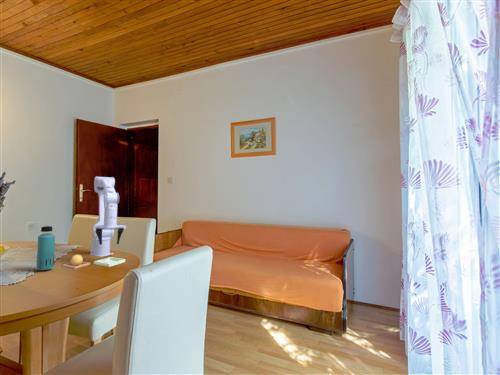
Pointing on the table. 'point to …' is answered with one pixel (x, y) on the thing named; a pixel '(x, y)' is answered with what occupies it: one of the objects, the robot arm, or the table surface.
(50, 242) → the beverage bottle
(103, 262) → the tray
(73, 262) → the ball
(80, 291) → the table surface
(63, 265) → the dish
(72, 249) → the table surface
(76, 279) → the table surface
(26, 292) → the table surface
